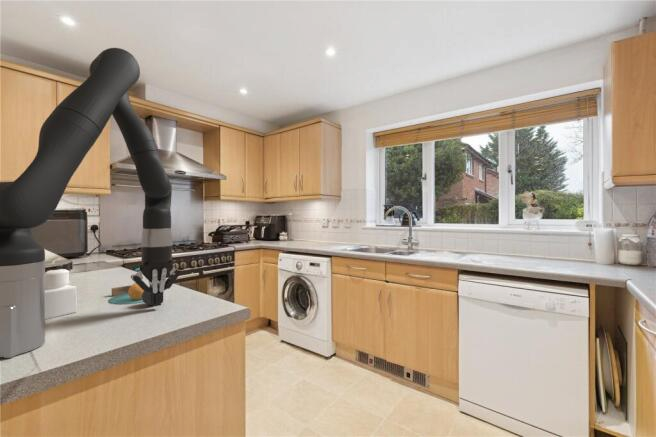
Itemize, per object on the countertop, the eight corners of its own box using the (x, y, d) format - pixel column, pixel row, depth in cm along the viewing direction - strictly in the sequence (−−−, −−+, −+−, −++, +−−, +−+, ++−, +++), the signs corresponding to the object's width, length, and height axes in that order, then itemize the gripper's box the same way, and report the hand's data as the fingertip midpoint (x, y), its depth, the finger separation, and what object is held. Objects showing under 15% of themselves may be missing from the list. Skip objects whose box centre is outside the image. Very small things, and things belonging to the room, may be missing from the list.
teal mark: (149, 303, 92) (149, 302, 92) (98, 304, 89) (98, 304, 89) (166, 291, 105) (166, 290, 105) (122, 292, 103) (122, 292, 103)
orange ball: (144, 285, 93) (138, 275, 96) (127, 298, 90) (121, 288, 93) (155, 294, 97) (148, 284, 100) (139, 306, 94) (133, 296, 97)
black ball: (153, 279, 92) (150, 294, 94) (138, 288, 87) (136, 303, 89) (168, 287, 91) (165, 301, 93) (154, 296, 86) (151, 311, 88)
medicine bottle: (31, 315, 80) (30, 270, 79) (64, 308, 86) (64, 266, 86) (43, 320, 76) (43, 273, 76) (77, 312, 83) (77, 268, 82)
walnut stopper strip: (142, 290, 106) (142, 283, 106) (143, 291, 105) (143, 284, 105) (111, 295, 99) (111, 288, 99) (112, 296, 98) (112, 288, 98)
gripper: (175, 242, 93) (175, 298, 93) (125, 244, 83) (125, 307, 83) (186, 243, 88) (186, 303, 88) (135, 247, 78) (134, 313, 78)
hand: (156, 305), depth 86 cm, fingers closed
